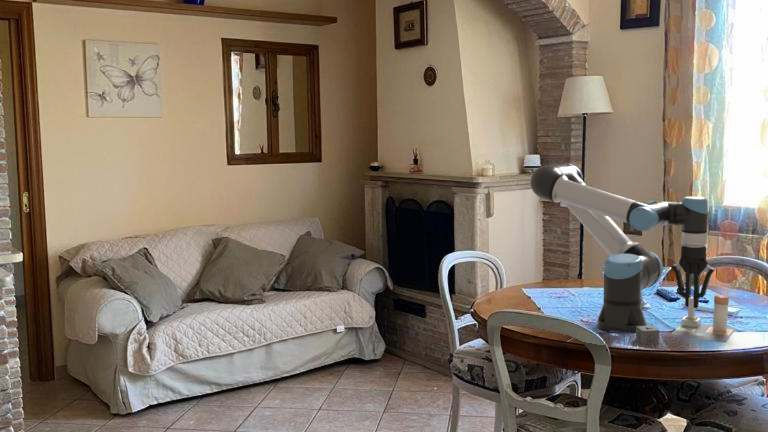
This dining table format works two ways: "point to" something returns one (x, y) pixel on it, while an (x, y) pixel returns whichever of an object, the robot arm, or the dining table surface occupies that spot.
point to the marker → (720, 313)
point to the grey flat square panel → (704, 333)
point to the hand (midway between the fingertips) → (691, 317)
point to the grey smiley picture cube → (647, 334)
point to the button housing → (690, 322)
